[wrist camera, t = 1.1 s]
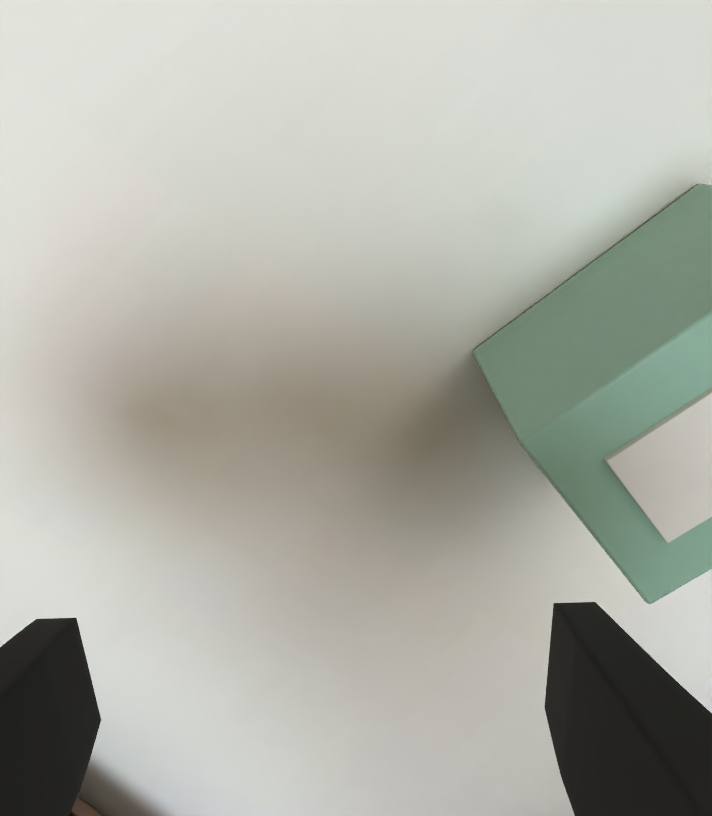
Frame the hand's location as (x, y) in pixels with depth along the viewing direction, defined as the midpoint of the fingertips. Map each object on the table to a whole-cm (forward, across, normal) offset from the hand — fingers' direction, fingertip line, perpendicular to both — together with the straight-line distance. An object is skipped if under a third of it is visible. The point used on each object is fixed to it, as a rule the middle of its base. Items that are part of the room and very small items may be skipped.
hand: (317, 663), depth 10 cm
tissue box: (+10, -8, -2) cm, 13 cm away
